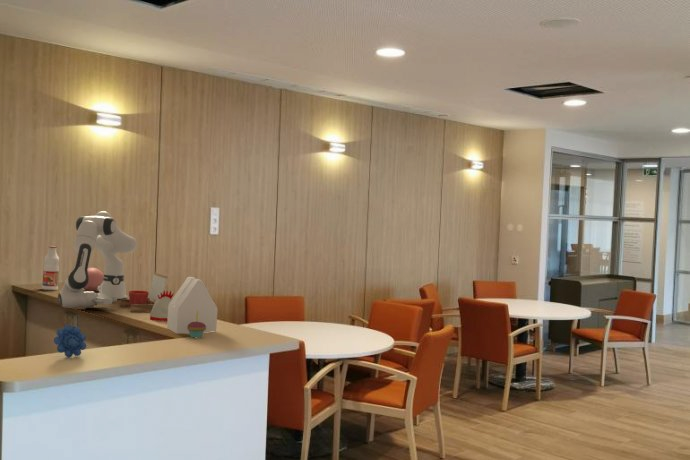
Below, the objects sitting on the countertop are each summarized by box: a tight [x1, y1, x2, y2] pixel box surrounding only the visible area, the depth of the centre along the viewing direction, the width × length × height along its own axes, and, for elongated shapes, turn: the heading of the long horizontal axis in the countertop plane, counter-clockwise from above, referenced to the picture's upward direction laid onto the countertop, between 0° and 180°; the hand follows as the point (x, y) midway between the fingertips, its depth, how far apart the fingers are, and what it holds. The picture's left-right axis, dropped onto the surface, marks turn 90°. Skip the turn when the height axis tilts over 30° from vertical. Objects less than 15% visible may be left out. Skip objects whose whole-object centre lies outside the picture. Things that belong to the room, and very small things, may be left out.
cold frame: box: [119, 298, 156, 313], centre depth 382 cm, size 23×16×5 cm
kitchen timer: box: [149, 290, 175, 322], centre depth 353 cm, size 14×14×15 cm
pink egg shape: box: [83, 267, 105, 292], centre depth 447 cm, size 15×20×15 cm
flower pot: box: [128, 290, 150, 308], centre depth 382 cm, size 11×11×10 cm
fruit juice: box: [41, 245, 60, 291], centre depth 440 cm, size 9×9×28 cm
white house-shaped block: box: [166, 276, 219, 335], centre depth 325 cm, size 19×15×25 cm
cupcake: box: [187, 312, 206, 338], centre depth 308 cm, size 9×8×12 cm
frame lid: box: [148, 272, 168, 302], centre depth 387 cm, size 21×15×1 cm
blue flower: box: [53, 324, 87, 358], centre depth 250 cm, size 12×7×12 cm, turn 125°
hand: (116, 299), depth 375 cm, fingers closed
